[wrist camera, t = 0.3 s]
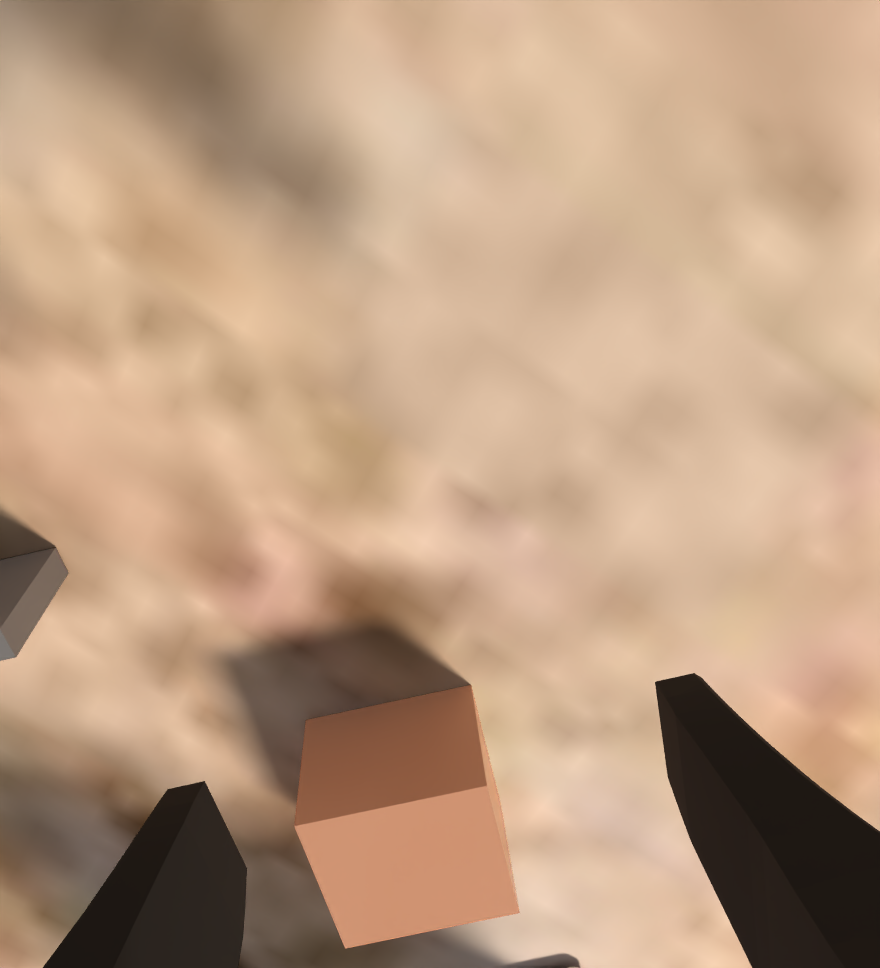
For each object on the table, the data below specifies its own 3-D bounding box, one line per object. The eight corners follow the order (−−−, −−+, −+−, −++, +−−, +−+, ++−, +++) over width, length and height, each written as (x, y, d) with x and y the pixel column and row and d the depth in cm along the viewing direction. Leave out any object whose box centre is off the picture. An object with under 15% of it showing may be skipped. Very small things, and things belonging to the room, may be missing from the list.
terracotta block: (500, 800, 26) (519, 912, 23) (349, 831, 27) (345, 948, 23) (470, 681, 24) (486, 785, 21) (306, 716, 24) (294, 826, 21)
